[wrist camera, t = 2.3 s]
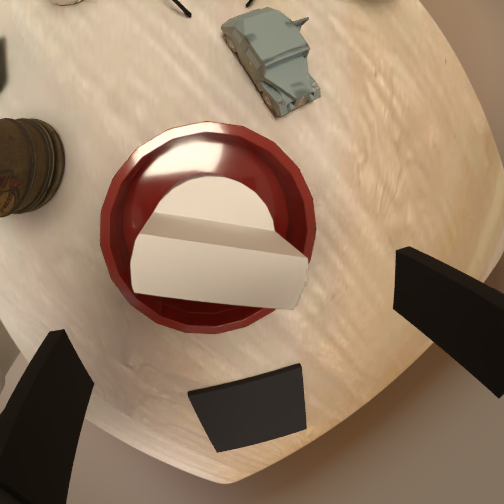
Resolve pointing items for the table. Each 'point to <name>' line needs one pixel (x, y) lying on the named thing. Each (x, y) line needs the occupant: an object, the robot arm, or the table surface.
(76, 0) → the wineglass
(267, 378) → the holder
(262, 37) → the toy car
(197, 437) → the table surface
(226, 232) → the base with upright slab
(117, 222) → the red round dish
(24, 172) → the container
